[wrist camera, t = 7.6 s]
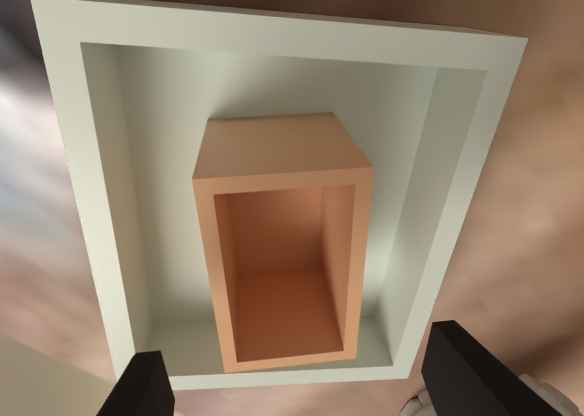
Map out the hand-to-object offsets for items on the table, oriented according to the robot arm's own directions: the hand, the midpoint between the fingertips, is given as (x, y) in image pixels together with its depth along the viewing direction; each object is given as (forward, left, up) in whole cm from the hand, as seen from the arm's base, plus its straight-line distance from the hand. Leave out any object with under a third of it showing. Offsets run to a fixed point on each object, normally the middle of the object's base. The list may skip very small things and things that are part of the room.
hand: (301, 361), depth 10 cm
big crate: (0, 0, -9) cm, 9 cm away
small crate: (0, 0, -8) cm, 8 cm away
